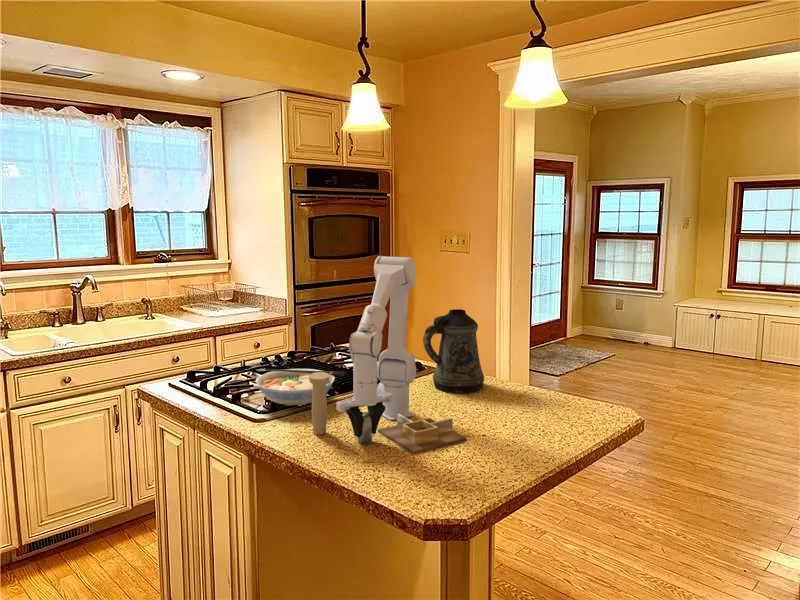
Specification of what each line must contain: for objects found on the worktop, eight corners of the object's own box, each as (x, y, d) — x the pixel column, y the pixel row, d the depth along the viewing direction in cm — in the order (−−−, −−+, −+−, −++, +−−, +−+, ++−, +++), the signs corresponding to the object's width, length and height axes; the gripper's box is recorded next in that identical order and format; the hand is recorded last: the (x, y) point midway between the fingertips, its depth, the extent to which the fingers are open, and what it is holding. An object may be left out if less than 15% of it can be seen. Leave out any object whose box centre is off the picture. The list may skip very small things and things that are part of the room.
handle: (330, 428, 154) (330, 372, 152) (327, 437, 148) (327, 379, 146) (311, 428, 154) (311, 372, 152) (308, 437, 148) (307, 379, 146)
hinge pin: (355, 441, 146) (355, 413, 145) (367, 438, 148) (367, 411, 147) (362, 446, 143) (362, 418, 142) (375, 443, 145) (375, 415, 144)
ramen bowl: (237, 412, 166) (237, 383, 165) (272, 388, 188) (272, 363, 187) (323, 420, 160) (322, 390, 159) (348, 395, 182) (348, 369, 181)
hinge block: (377, 432, 152) (378, 417, 152) (429, 421, 161) (429, 407, 160) (412, 454, 139) (412, 438, 138) (466, 440, 147) (467, 426, 147)
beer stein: (494, 386, 193) (496, 310, 189) (457, 400, 179) (459, 318, 175) (453, 376, 204) (455, 304, 200) (415, 388, 190) (417, 311, 186)
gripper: (345, 389, 136) (345, 446, 138) (399, 380, 144) (398, 434, 146) (332, 381, 142) (332, 436, 144) (384, 373, 150) (384, 425, 152)
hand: (365, 434), depth 145 cm, fingers closed on hinge pin, 4 cm apart
